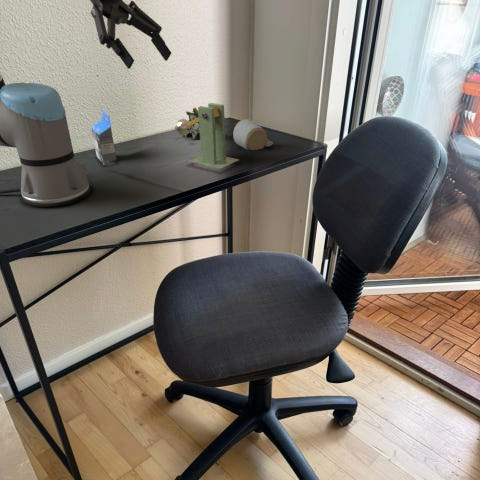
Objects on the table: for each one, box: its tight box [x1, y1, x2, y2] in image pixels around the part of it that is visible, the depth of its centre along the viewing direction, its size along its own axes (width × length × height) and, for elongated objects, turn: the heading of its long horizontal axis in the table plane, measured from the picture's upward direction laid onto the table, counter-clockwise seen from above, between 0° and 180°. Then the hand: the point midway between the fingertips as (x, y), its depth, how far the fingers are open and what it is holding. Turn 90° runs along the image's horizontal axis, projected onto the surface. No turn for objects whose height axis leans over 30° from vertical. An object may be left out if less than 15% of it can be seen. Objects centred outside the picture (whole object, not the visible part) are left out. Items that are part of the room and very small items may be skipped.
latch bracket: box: [188, 102, 240, 170], centre depth 122 cm, size 11×8×15 cm
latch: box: [175, 106, 220, 136], centre depth 123 cm, size 14×4×4 cm, turn 54°
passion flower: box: [174, 107, 200, 141], centre depth 143 cm, size 11×11×12 cm
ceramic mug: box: [232, 118, 274, 151], centre depth 135 cm, size 11×8×8 cm
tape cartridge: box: [90, 109, 117, 166], centre depth 127 cm, size 9×4×12 cm, turn 27°
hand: (150, 60), depth 122 cm, fingers open, 13 cm apart
